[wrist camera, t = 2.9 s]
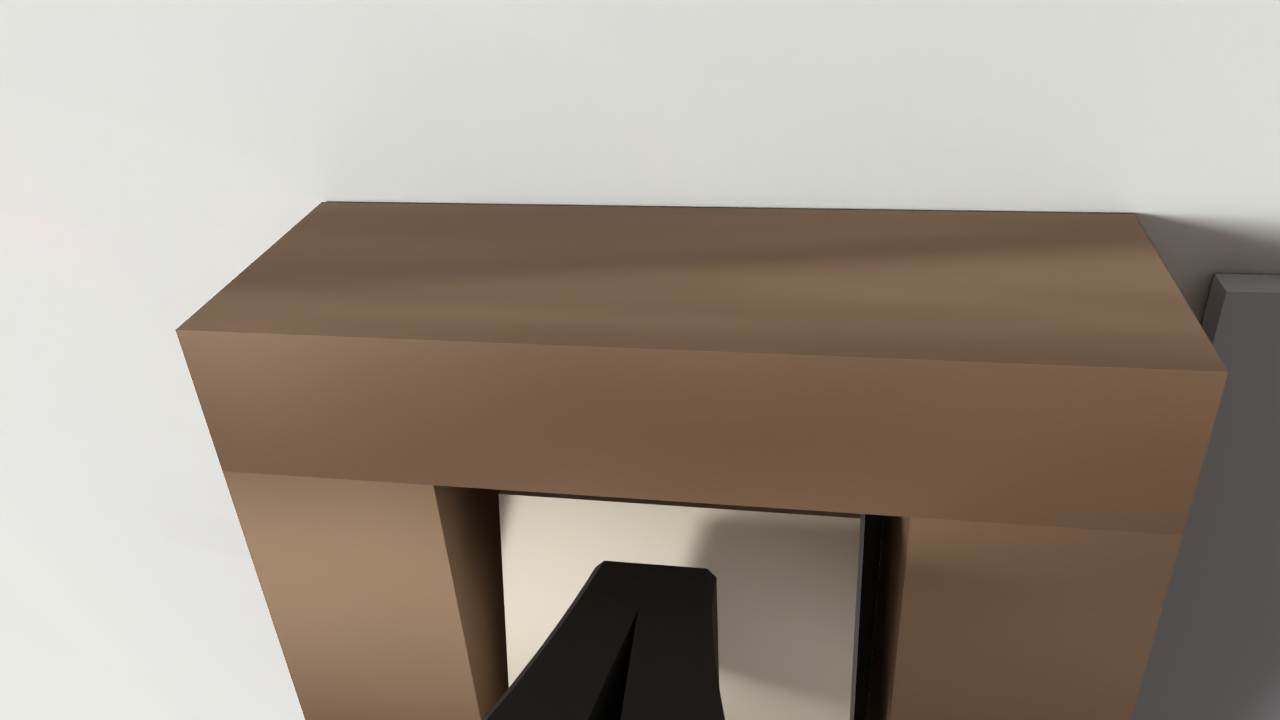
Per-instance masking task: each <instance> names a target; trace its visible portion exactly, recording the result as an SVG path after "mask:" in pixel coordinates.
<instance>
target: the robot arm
mask: <svg viewBox="0 0 1280 720" xmlns="http://www.w3.org/2000/svg"><path fill="white" fill-rule="evenodd" d="M482 720H725V717H724V711H723V706H722V700H721V695H720V689H719V658H718V617H717V577H716V576H715V575H714V574H712V573H711V572H710V571H709V570H708V569H707V568H695V567H681V566H668V565H655V564H642V563H629V562H616V561H603V562H602V563H600V564H599V565H598V566H596V567H595V569H594V570H593V572H592V573H591V575H590V577H589V578H588V580H587V581H586V583H585V584H584V586H583V587H582V589H581V590H580V592H579V593H578V595H577V596H576V598H575V600H574V601H573V602H572V604H571V605H570V607H569V608H568V610H567V611H566V613H565V614H564V615H563V617H562V618H561V620H560V621H559V623H558V624H557V625H556V627H555V628H554V629H553V631H552V632H551V634H550V635H549V636H548V638H547V639H546V640H545V642H544V643H543V645H542V646H541V647H540V649H539V650H538V651H537V652H536V654H535V655H534V656H533V658H532V659H531V660H530V661H529V663H528V664H527V665H526V667H525V668H524V669H523V670H522V672H521V673H520V674H519V676H518V677H517V678H516V679H515V681H514V682H513V683H512V684H511V686H510V687H509V688H508V690H507V691H506V692H505V693H504V695H503V696H502V697H501V698H500V699H499V701H498V702H497V703H496V704H495V705H494V707H493V708H492V709H491V710H490V711H489V712H488V713H487V715H486V716H485V717H484V718H483V719H482Z"/></svg>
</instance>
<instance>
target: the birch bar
mask: <svg viewBox="0 0 1280 720" xmlns="http://www.w3.org/2000/svg"><path fill="white" fill-rule="evenodd" d="M499 512H500V531H501V550H502V569H503V588H504V607H505V626H506V645H507V664H508V683H509V687H510V686H511V684H512V683H513V682H514V681H515V679H516V678H517V677H518V676H519V674H520V673H521V672H522V670H523V669H524V668H525V667H526V665H527V664H528V663H529V661H530V660H531V659H532V658H533V656H534V655H535V654H536V652H537V651H538V650H539V649H540V647H541V646H542V645H543V643H544V642H545V640H546V639H547V638H548V636H549V635H550V634H551V632H552V631H553V629H554V628H555V627H556V625H557V624H558V623H559V621H560V620H561V618H562V617H563V615H564V614H565V613H566V611H567V610H568V608H569V607H570V605H571V604H572V602H573V601H574V600H575V598H576V596H577V595H578V593H579V592H580V590H581V589H582V587H583V586H584V584H585V583H586V581H587V580H588V578H589V577H590V575H591V573H592V572H593V570H594V569H595V567H596V566H598V565H599V564H600V563H602V562H603V561H616V562H629V563H642V564H655V565H668V566H681V567H695V568H707V569H708V570H709V571H710V572H711V573H712V574H714V575H715V576H716V577H717V617H718V658H719V689H720V695H721V700H722V706H723V711H724V717H725V720H850V703H851V685H852V666H853V648H854V630H855V611H856V593H857V575H858V556H859V538H860V519H861V517H860V514H856V513H841V512H826V511H811V510H796V509H781V508H766V507H751V506H736V505H721V504H706V503H691V502H676V501H661V500H646V499H631V498H616V497H601V496H586V495H571V494H557V493H542V492H527V491H512V490H501V491H500V493H499Z"/></svg>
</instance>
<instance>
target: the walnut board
mask: <svg viewBox="0 0 1280 720" xmlns="http://www.w3.org/2000/svg"><path fill="white" fill-rule="evenodd" d="M176 332H177V335H178V338H179V341H180V344H181V347H182V350H183V353H184V356H185V359H186V362H187V365H188V368H189V371H190V374H191V377H192V380H193V383H194V386H195V389H196V392H197V395H198V398H199V401H200V404H201V407H202V410H203V413H204V416H205V419H206V422H207V425H208V428H209V431H210V434H211V437H212V440H213V443H214V446H215V449H216V452H217V455H218V458H219V461H220V464H221V467H222V470H223V473H224V476H225V479H226V482H227V485H228V488H229V491H230V494H231V498H232V501H233V504H234V507H235V510H236V513H237V516H238V519H239V522H240V525H241V528H242V531H243V534H244V537H245V540H246V543H247V546H248V549H249V552H250V555H251V558H252V561H253V564H254V567H255V570H256V573H257V576H258V579H259V582H260V585H261V588H262V591H263V594H264V597H265V600H266V603H267V606H268V609H269V612H270V615H271V618H272V621H273V624H274V627H275V630H276V633H277V636H278V639H279V642H280V645H281V648H282V651H283V654H284V657H285V660H286V663H287V666H288V669H289V672H290V675H291V678H292V681H293V684H294V687H295V690H296V693H297V696H298V699H299V702H300V705H301V708H302V711H303V714H304V717H305V720H482V719H483V718H484V717H485V716H486V715H487V713H488V712H489V711H490V710H491V709H492V708H493V707H494V705H495V704H496V703H497V702H498V701H499V699H500V698H501V697H502V696H503V695H504V693H505V692H506V691H507V690H508V688H509V683H508V664H507V645H506V626H505V607H504V588H503V569H502V550H501V531H500V512H499V493H500V491H501V490H512V491H527V492H542V493H557V494H571V495H586V496H601V497H616V498H631V499H646V500H661V501H676V502H691V503H706V504H721V505H736V506H751V507H766V508H781V509H796V510H811V511H826V512H841V513H856V514H871V515H883V525H882V537H881V549H880V561H879V573H878V585H877V597H876V609H875V621H874V633H873V645H872V657H871V669H870V681H869V693H868V705H867V717H866V720H1131V719H1132V715H1133V712H1134V708H1135V704H1136V701H1137V697H1138V694H1139V690H1140V686H1141V683H1142V679H1143V676H1144V672H1145V669H1146V665H1147V661H1148V658H1149V654H1150V651H1151V647H1152V644H1153V640H1154V636H1155V633H1156V629H1157V626H1158V622H1159V618H1160V615H1161V611H1162V608H1163V604H1164V601H1165V597H1166V593H1167V590H1168V586H1169V583H1170V579H1171V576H1172V572H1173V568H1174V565H1175V561H1176V558H1177V554H1178V550H1179V547H1180V543H1181V540H1182V536H1183V533H1184V529H1185V525H1186V522H1187V518H1188V515H1189V511H1190V508H1191V504H1192V500H1193V497H1194V493H1195V490H1196V486H1197V482H1198V479H1199V475H1200V472H1201V468H1202V465H1203V461H1204V457H1205V454H1206V450H1207V447H1208V443H1209V440H1210V436H1211V432H1212V429H1213V425H1214V422H1215V418H1216V414H1217V411H1218V407H1219V404H1220V400H1221V397H1222V393H1223V389H1224V386H1225V382H1226V379H1227V375H1228V370H1227V369H1226V367H1225V365H1224V364H1223V362H1222V360H1221V359H1220V357H1219V355H1218V354H1217V352H1216V350H1215V348H1214V347H1213V345H1212V343H1211V342H1210V340H1209V338H1208V337H1207V335H1206V333H1205V332H1204V330H1203V328H1202V327H1201V325H1200V323H1199V322H1198V320H1197V318H1196V317H1195V315H1194V313H1193V312H1192V310H1191V308H1190V307H1189V305H1188V303H1187V301H1186V300H1185V298H1184V296H1183V295H1182V293H1181V291H1180V290H1179V288H1178V286H1177V285H1176V283H1175V281H1174V280H1173V278H1172V276H1171V275H1170V273H1169V271H1168V270H1167V268H1166V266H1165V265H1164V263H1163V261H1162V260H1161V258H1160V256H1159V254H1158V253H1157V251H1156V249H1155V248H1154V246H1153V244H1152V243H1151V241H1150V239H1149V238H1148V236H1147V234H1146V233H1145V231H1144V229H1143V228H1142V226H1141V224H1140V223H1139V221H1138V219H1137V218H1136V216H1135V214H1117V213H1047V212H977V211H907V210H838V209H768V208H698V207H628V206H559V205H489V204H419V203H350V202H322V203H321V204H319V205H318V206H317V207H316V208H315V209H314V210H313V211H311V212H310V213H309V214H308V215H307V216H306V217H305V218H303V219H302V220H301V221H300V222H299V223H298V224H297V225H295V226H294V227H293V228H292V229H291V230H290V231H288V232H287V233H286V234H285V235H284V236H283V237H282V238H280V239H279V240H278V241H277V242H276V243H275V244H274V245H272V246H271V247H270V248H269V249H268V250H267V251H266V252H264V253H263V254H262V255H261V256H260V257H259V258H258V259H256V260H255V261H254V262H253V263H252V264H251V265H250V266H248V267H247V268H246V269H245V270H244V271H243V272H242V273H240V274H239V275H238V276H237V277H236V278H235V279H234V280H232V281H231V282H230V283H229V284H228V285H227V286H226V287H224V288H223V289H222V290H221V291H220V292H219V293H217V294H216V295H215V296H214V297H213V298H212V299H211V300H209V301H208V302H207V303H206V304H205V305H204V306H203V307H201V308H200V309H199V310H198V311H197V312H196V313H195V314H193V315H192V316H191V317H190V318H189V319H188V320H187V321H185V322H184V323H183V324H182V325H181V326H180V327H179V328H177V329H176Z"/></svg>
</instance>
